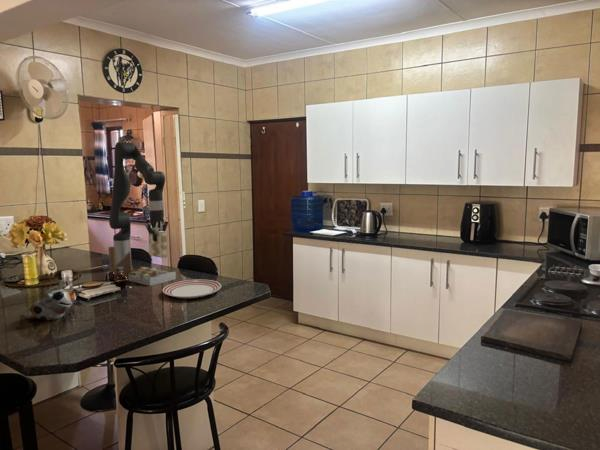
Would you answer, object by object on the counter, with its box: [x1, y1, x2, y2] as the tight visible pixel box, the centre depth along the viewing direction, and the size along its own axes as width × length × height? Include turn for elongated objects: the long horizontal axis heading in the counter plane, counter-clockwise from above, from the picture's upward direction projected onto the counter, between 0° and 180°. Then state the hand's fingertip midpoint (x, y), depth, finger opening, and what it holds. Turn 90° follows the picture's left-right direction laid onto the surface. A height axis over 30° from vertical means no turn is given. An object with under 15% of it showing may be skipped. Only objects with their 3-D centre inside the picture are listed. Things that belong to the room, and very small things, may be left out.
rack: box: [128, 267, 177, 286], centre depth 238 cm, size 18×16×4 cm
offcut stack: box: [135, 266, 160, 279], centre depth 235 cm, size 14×7×6 cm, turn 55°
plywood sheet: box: [147, 229, 168, 259], centre depth 239 cm, size 12×2×14 cm, turn 55°
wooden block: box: [108, 246, 132, 280], centre depth 239 cm, size 4×11×18 cm, turn 123°
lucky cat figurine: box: [28, 288, 78, 322], centre depth 180 cm, size 15×12×14 cm
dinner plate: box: [162, 279, 222, 300], centre depth 213 cm, size 28×27×3 cm
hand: (157, 240), depth 239 cm, fingers closed on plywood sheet, 2 cm apart
